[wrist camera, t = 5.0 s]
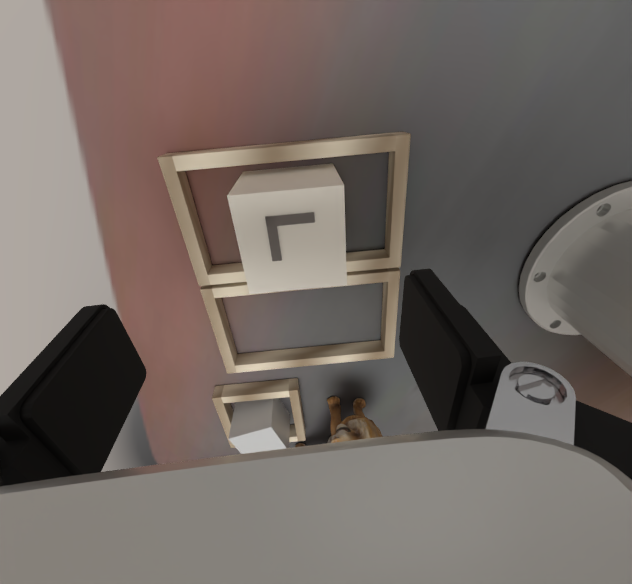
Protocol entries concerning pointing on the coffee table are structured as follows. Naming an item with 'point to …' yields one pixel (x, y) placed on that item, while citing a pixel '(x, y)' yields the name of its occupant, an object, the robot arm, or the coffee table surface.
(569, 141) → the coffee table surface
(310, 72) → the coffee table surface
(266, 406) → the grey block
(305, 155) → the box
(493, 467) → the robot arm
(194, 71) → the coffee table surface
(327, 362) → the middle box
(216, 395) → the small box
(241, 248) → the letter cube
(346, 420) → the lion figurine
